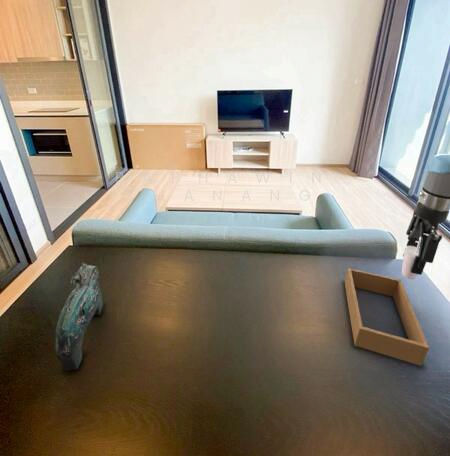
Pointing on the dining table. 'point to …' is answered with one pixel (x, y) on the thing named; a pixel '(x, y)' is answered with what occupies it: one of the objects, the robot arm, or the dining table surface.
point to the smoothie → (409, 260)
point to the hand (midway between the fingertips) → (411, 264)
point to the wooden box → (380, 341)
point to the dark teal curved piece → (77, 316)
